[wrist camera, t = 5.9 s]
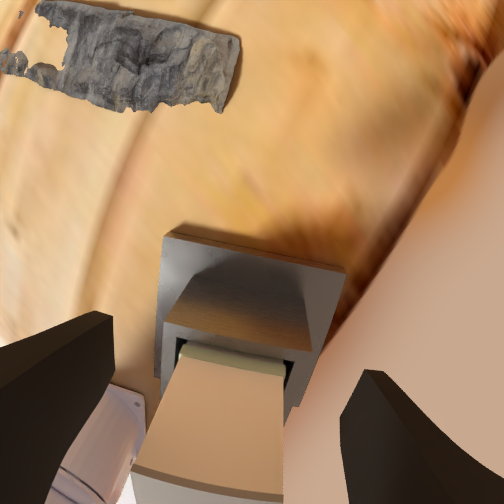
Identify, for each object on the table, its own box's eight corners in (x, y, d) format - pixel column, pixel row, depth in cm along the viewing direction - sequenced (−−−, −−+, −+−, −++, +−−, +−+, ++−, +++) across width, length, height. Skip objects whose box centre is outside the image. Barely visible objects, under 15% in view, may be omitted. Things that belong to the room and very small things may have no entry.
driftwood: (260, 51, 15) (258, 38, 13) (204, 156, 17) (194, 157, 15) (27, -3, 14) (11, -10, 12) (-8, 71, 16) (-25, 68, 14)
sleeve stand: (298, 397, 21) (301, 464, 15) (158, 368, 21) (128, 428, 15) (343, 267, 18) (370, 320, 12) (169, 231, 18) (122, 268, 12)
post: (265, 402, 16) (254, 544, 8) (186, 386, 16) (139, 519, 8) (284, 340, 15) (285, 502, 7) (194, 321, 15) (127, 469, 7)
